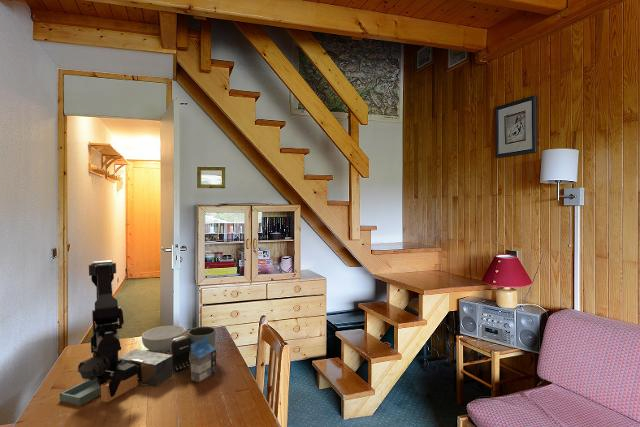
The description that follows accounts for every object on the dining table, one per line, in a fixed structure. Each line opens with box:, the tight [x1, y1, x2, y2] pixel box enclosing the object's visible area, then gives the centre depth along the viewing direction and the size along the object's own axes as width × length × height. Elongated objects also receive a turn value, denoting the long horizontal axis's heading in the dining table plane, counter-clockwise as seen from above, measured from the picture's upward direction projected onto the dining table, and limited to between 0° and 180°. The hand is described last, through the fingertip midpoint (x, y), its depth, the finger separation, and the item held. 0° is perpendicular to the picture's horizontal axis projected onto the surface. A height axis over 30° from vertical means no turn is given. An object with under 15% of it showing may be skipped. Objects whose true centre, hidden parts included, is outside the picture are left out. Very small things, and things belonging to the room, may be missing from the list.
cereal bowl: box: [141, 325, 187, 353], centre depth 167 cm, size 17×17×7 cm
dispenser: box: [118, 348, 174, 388], centre depth 140 cm, size 16×8×8 cm, turn 70°
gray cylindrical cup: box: [187, 325, 216, 365], centre depth 153 cm, size 10×10×12 cm
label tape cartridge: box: [190, 337, 217, 383], centre depth 141 cm, size 9×4×12 cm, turn 155°
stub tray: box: [59, 379, 101, 407], centre depth 131 cm, size 8×16×2 cm, turn 160°
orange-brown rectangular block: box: [100, 374, 139, 403], centre depth 129 cm, size 2×12×5 cm, turn 160°
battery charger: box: [169, 335, 191, 373], centre depth 147 cm, size 7×4×11 cm, turn 139°
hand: (109, 395), depth 126 cm, fingers closed on orange-brown rectangular block, 2 cm apart
